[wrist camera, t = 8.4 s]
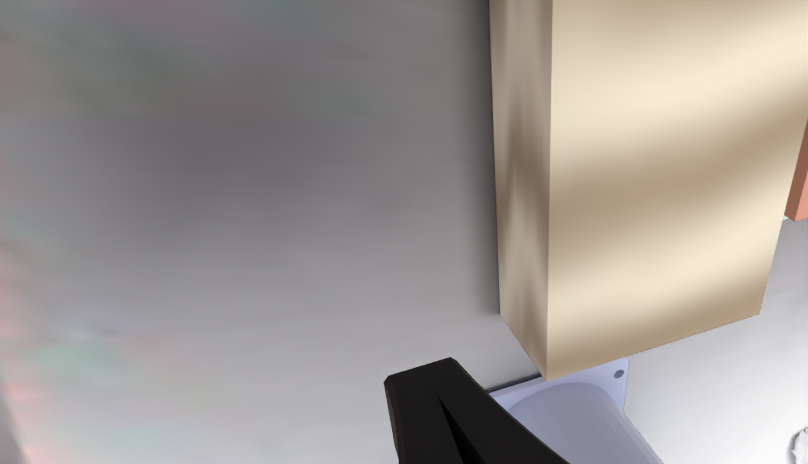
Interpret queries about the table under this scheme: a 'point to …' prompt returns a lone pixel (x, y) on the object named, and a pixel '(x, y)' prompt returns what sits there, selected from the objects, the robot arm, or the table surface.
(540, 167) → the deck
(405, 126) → the table surface
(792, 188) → the salmon pink block
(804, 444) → the seated beast figurine
